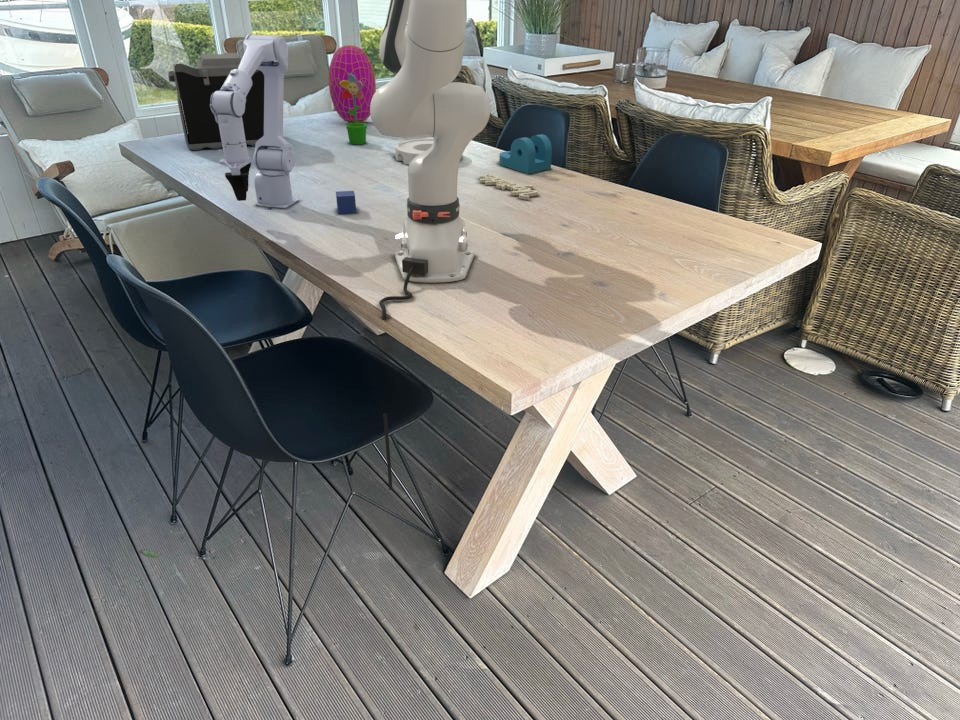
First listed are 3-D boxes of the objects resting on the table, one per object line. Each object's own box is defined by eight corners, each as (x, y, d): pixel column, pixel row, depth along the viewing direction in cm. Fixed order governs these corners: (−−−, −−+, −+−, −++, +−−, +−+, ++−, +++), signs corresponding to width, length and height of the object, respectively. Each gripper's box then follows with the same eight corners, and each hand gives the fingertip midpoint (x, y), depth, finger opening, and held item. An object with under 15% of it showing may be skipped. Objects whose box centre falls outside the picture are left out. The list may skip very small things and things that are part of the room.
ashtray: (454, 167, 232) (454, 155, 230) (388, 164, 235) (387, 152, 233) (466, 151, 252) (466, 140, 250) (404, 148, 255) (404, 137, 253)
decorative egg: (362, 116, 305) (357, 42, 290) (386, 123, 292) (382, 46, 277) (324, 121, 294) (316, 45, 279) (347, 129, 281) (340, 49, 266)
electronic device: (279, 131, 276) (269, 50, 261) (287, 144, 259) (276, 57, 243) (182, 138, 265) (165, 53, 250) (183, 151, 247) (164, 61, 232)
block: (355, 207, 195) (353, 190, 193) (356, 213, 191) (355, 195, 189) (337, 208, 194) (335, 191, 192) (338, 214, 190) (336, 196, 188)
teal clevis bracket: (550, 168, 233) (552, 137, 227) (527, 173, 227) (529, 141, 222) (515, 157, 245) (516, 127, 239) (493, 162, 239) (493, 131, 234)
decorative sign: (550, 191, 207) (525, 197, 202) (550, 194, 207) (525, 200, 202) (495, 172, 225) (471, 176, 220) (495, 174, 225) (471, 179, 220)
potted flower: (342, 144, 260) (336, 73, 247) (351, 139, 266) (346, 70, 254) (365, 146, 257) (360, 74, 245) (374, 141, 264) (369, 71, 251)
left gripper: (219, 136, 176) (229, 188, 183) (213, 149, 164) (224, 205, 171) (248, 135, 177) (256, 187, 184) (244, 148, 165) (253, 203, 172)
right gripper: (413, 76, 182) (415, 130, 188) (427, 86, 164) (429, 145, 171) (436, 75, 183) (438, 129, 190) (453, 86, 166) (454, 144, 172)
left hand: (242, 195), depth 178 cm, fingers open, 7 cm apart
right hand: (434, 137), depth 180 cm, fingers open, 8 cm apart
